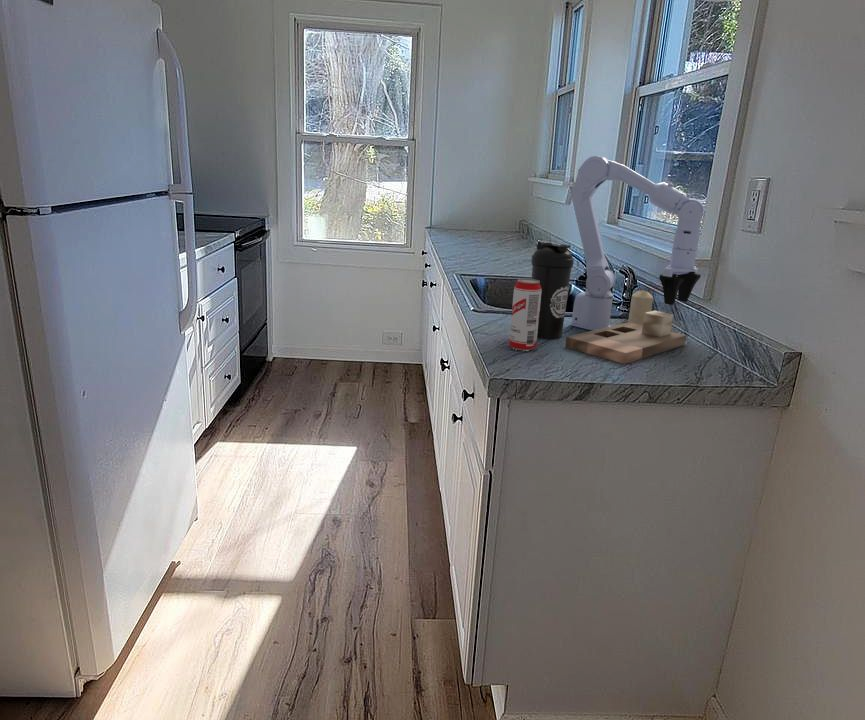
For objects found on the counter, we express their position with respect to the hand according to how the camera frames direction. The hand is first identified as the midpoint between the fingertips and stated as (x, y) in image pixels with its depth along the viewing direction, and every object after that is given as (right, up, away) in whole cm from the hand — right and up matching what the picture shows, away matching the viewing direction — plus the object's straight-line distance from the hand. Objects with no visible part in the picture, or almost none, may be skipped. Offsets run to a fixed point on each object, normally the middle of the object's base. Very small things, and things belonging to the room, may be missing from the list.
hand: (675, 302), depth 165 cm
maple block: (-6, -8, -3) cm, 11 cm away
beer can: (-41, -12, -14) cm, 45 cm away
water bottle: (-33, -8, 0) cm, 34 cm away
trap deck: (-15, -11, -7) cm, 20 cm away
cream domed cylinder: (-5, -6, +13) cm, 16 cm away
